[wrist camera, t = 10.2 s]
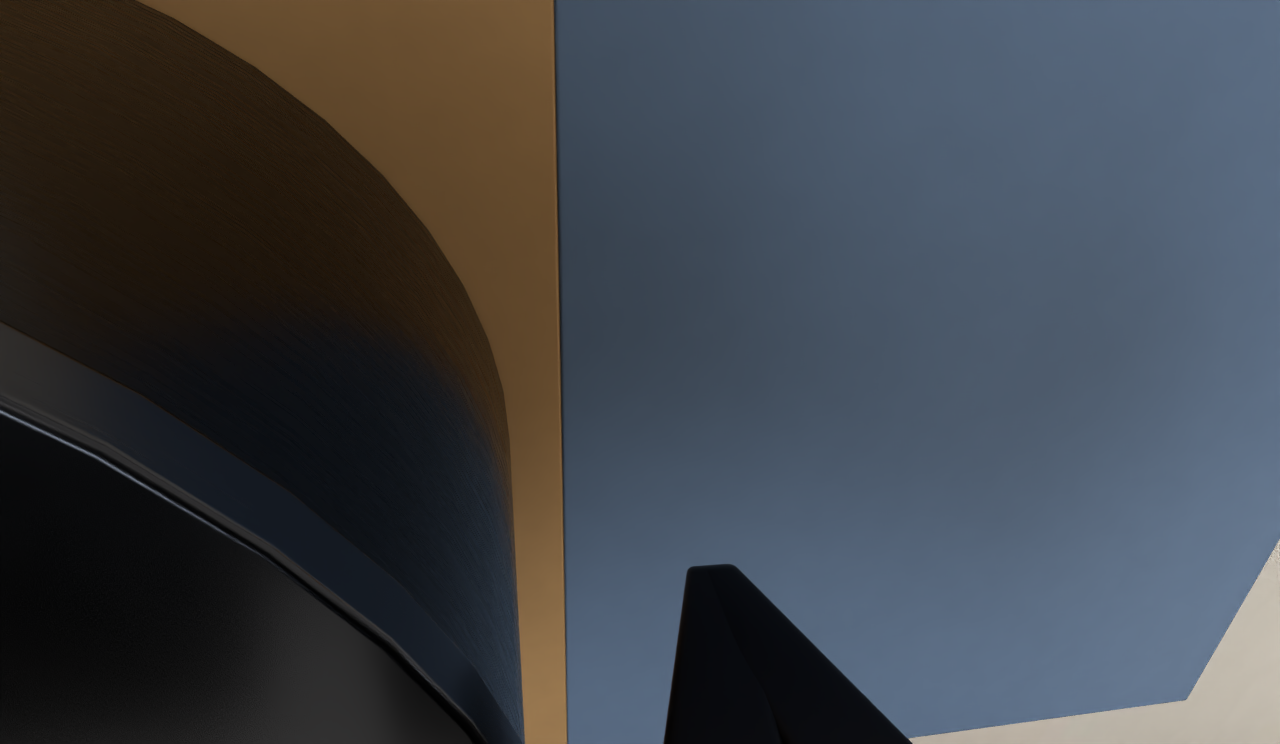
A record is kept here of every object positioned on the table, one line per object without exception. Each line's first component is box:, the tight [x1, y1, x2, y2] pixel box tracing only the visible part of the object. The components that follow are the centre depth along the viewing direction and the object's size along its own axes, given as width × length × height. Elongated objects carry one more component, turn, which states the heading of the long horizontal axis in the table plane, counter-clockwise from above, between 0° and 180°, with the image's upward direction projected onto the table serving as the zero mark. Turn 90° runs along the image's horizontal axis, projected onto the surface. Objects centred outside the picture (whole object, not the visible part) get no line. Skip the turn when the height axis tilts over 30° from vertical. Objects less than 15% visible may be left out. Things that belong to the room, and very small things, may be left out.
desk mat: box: [136, 0, 1280, 744], centre depth 12 cm, size 28×17×1 cm, turn 87°
